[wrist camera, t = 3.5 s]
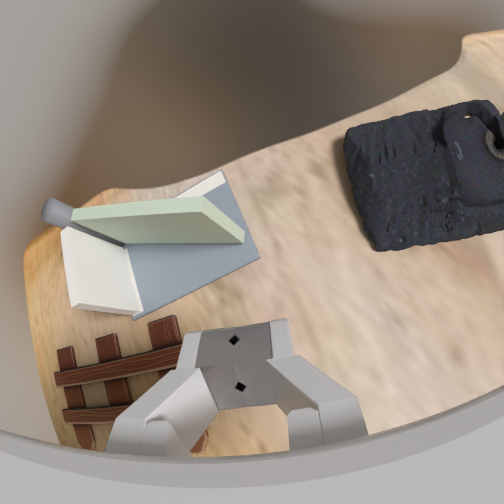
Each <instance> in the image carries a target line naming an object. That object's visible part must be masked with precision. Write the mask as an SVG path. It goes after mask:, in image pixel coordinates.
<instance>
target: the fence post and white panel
mask: <svg viewBox="0 0 504 504" xmlns="http://www.w3.org/2000/svg"><path fill="white" fill-rule="evenodd" d="M73 209H75V208H73V207H71V206H68V205H66V204H64V203H62V202H60V201H58V200H56V199H54V198H49V199H48V200H47V201H46V202H45V204H44V206H43V208H42V212H41V218H42V220H43V221H45V222H47V223H50V224H52V225H55V226H57V227H60V228H62V229H64V230H62V231H61V242H62V250H63V258H64V266H65V273H66V279H67V285H68V291H69V297H70V302H71V307H72V308H78V309H85V310H92V311H100V312H108V313H116V314H125V315H134V314H136V313H138V312H140V310H139V307H138V303H137V300H136V296H135V293H134V289H133V285H132V281H131V277H130V274H129V270H128V266H127V261H126V257H125V253H124V249H123V247H124V246H125V244H126V243H123V242H121V241H118V240H116V239H113V238H111V237H108V236H106V235H104V234H101V233H99V232H96V231H94V230H91V229H89V228H87V227H84V226H82V225H79V224H77V223H75V222H72V221H71V217H72V212H73Z"/></svg>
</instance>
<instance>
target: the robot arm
mask: <svg viewBox="0 0 504 504" xmlns="http://www.w3.org/2000/svg"><path fill="white" fill-rule="evenodd" d="M272 404H277V405H278V407H279V408H280V409H281V410H282V411H283V412H284V413H285V414H286V416H287V419H288V432H289V446H290V450H289V451H281V452H273V453H264V454H253V455H241V456H224V457H193V456H192V455H191V453H190V450H191V449H192V448H193V446H194V445H195V444H196V442H197V441H198V440H199V438H200V437H201V436H202V434H203V433H204V432H205V430H206V429H207V428H208V426H209V425H210V423H211V422H212V421H213V419H214V418H215V417H216V415H217V414H218V412H219V411H218V410H226V409H235V408H243V407H252V406H263V405H272ZM0 504H504V385H503V386H501V387H498V388H496V389H494V390H492V391H490V392H488V393H486V394H484V395H482V396H479V397H477V398H475V399H473V400H470V401H468V402H466V403H463V404H461V405H459V406H456V407H454V408H451V409H448V410H446V411H443V412H441V413H438V414H435V415H432V416H430V417H427V418H424V419H421V420H418V421H415V422H412V423H409V424H406V425H403V426H399V427H396V428H393V429H389V430H386V431H382V432H378V433H374V434H371V435H368V431H367V428H366V424H365V421H364V418H363V414H362V411H361V408H360V404H359V401H358V398H357V396H355V395H354V394H353V393H351V392H350V391H348V390H347V389H346V388H344V387H343V386H341V385H340V384H339V383H337V382H336V381H334V380H333V379H332V378H330V377H329V376H327V375H326V374H325V373H323V372H322V371H321V370H319V369H318V368H317V367H315V366H314V365H312V364H311V363H310V362H308V361H307V360H306V359H304V358H303V357H302V356H300V355H294V353H293V346H292V340H291V334H290V328H289V322H288V319H287V318H282V319H277V320H272V321H270V322H264V323H258V324H252V325H246V326H239V327H229V328H221V329H212V330H204V331H195V332H187V333H186V334H185V336H184V340H183V343H182V347H181V351H180V355H179V358H178V362H177V366H176V370H171V371H169V372H168V373H167V374H166V375H165V376H164V377H163V378H162V379H160V380H159V381H158V382H157V383H156V384H155V385H154V386H152V387H151V388H150V389H149V390H148V391H147V392H146V393H145V394H143V395H142V396H141V397H140V398H139V399H138V400H137V401H135V402H134V403H133V404H132V405H131V406H130V407H128V408H127V409H126V410H125V411H124V412H123V413H121V414H120V415H119V416H118V417H117V418H116V420H115V423H114V425H113V428H112V431H111V434H110V437H109V440H108V443H107V446H106V448H105V451H104V452H102V451H94V450H88V449H81V448H75V447H70V446H64V445H59V444H54V443H49V442H45V441H40V440H36V439H32V438H28V437H24V436H20V435H17V434H13V433H10V432H7V431H3V430H0Z"/></svg>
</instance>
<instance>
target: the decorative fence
mask: <svg viewBox="0 0 504 504" xmlns="http://www.w3.org/2000/svg"><path fill="white" fill-rule="evenodd" d="M148 327H149V332H150V337H151V341H152V346H153V350H152V351H148V352H144V353H140V354H136V355H131V356H127V357H123V358H122V357H121V352H120V347H119V342H118V337H117V334H110V335H107V336H104V337H100V338H97V339H95V341H96V347H97V352H98V357H99V362H100V363H97V364H92V365H88V366H83V367H78V368H77V365H76V359H75V354H74V348H73V346H70V347H66V348H63V349H59V350H57V356H58V361H59V367H60V371H59V372H54V377H55V382H56V386H57V387H64V391H65V396H66V400H67V404H68V408H69V409H63V410H62V412H63V416H64V420H65V423H66V424H73V427H74V430H75V433H76V437H77V440H78V442H79V444H80V445H81V447H82V448H83V449H88V450H94V451H95V445H96V440H95V437H94V434H93V430H92V427H91V424H104V423H115V420H116V418H117V417H118V416H119V415H120V414H121V413H123V412H124V411H125V410H126V409H127V408H128V407H130V406H131V405H132V404H133V402H132V399H131V395H130V391H129V387H128V383H127V379H126V377H127V376H132V375H137V374H142V373H147V372H152V371H157V370H158V371H159V375H160V379H162V378H163V377H164V376H165V375H166V374H167V373H168V372H169V371H171V370H176V366H177V362H178V358H179V355H180V351H181V347H182V343H183V342H182V339H181V335H180V331H179V327H178V322H177V318H176V316H175V315H172V316H168V317H165V318H162V319H159V320H156V321H153V322H149V323H148ZM99 381H104V385H105V389H106V393H107V397H108V401H109V405H110V406H100V407H87V408H86V405H85V401H84V397H83V393H82V388H81V384H86V383H93V382H99ZM207 440H208V433H207V430H205V432H204V433H203V434H202V436H201V437H200V438H199V440H198V441H197V442H196V444H195V445H194V446H193V448H192V449H191V450H190V453H192V454H195V453H202V452H204V450H205V447H206V443H207Z"/></svg>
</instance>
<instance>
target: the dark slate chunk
mask: <svg viewBox="0 0 504 504" xmlns="http://www.w3.org/2000/svg"><path fill="white" fill-rule="evenodd" d="M465 116H471V117H469V118H464V117H465ZM343 148H344V152H345V158H346V162H347V173H348V175H349V179H350V181H351V184H352V186H353V194H354V199H355V202H356V205H357V208H358V210H359V213H360V215H361V217H362V218H363V228H364V230H365V231H366V233H367V236H368V237H369V239H370V240H371V241H373V242H374V243H375V245H376V251H380V252H381V251H388V250H393V251H399V250H404V249H407V248H409V247H412V246H414V245H420V246H425V245H427V244H430V245H433V244H437V243H438V242H449V241H455V240H461V239H467V238H470V237H474V236H475V235H479V236H480V235H483V234H488V233H493V232H497V231H501V230H504V112H503V114H502V115H500V113H499V111H498V110H497V109H496V107H495V106H494V105H493V104H492V103H491V102H490V101H488V100H472V101H468V102H462V103H458V104H455V105H451V106H447V107H443V108H439V109H437V110H431V111H429V110H427V109H425V110H422V111H414V112H409V113H406V114H404V115H401V116H394V117H391V118H390V119H386V120H381V121H377V122H371V123H366V124H361V125H358V126H356V127H351V128H349V129H348V130H347V132H346V134H345V139H344V144H343Z"/></svg>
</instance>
